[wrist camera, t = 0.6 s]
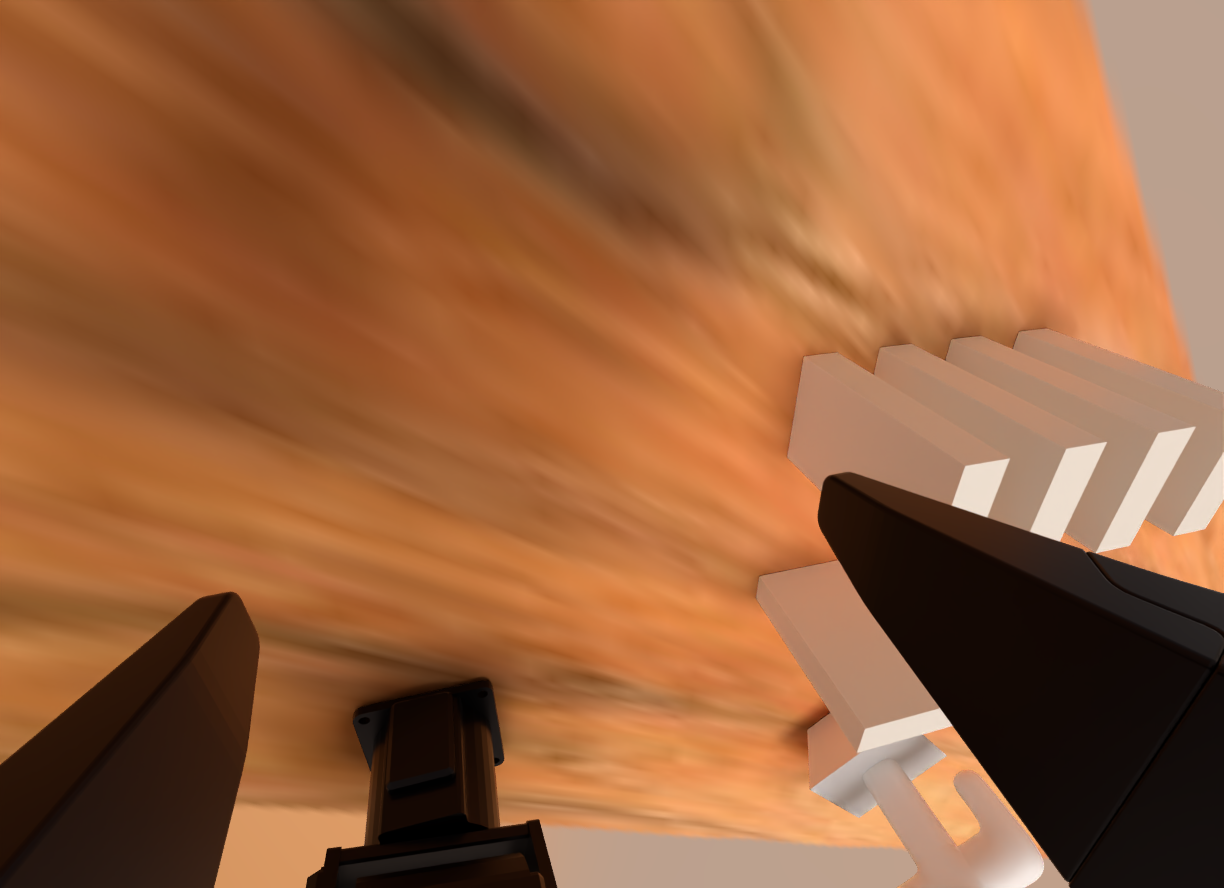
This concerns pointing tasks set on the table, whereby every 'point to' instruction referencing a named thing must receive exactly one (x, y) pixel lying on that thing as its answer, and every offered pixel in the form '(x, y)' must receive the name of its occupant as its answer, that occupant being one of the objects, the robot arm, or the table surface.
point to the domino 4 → (1132, 431)
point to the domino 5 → (1220, 444)
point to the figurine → (923, 811)
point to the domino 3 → (1004, 437)
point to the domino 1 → (886, 438)
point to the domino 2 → (848, 656)
